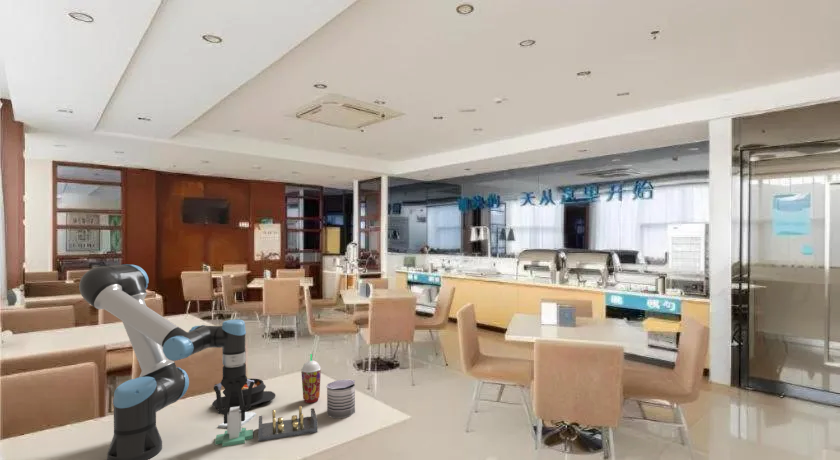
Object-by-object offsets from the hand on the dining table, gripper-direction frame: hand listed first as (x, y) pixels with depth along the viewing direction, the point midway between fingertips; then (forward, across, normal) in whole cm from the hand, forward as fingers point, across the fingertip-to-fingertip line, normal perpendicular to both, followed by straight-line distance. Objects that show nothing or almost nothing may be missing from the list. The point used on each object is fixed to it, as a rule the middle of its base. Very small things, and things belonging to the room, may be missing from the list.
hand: (234, 431), depth 152 cm
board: (+3, 0, 0) cm, 3 cm away
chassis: (+3, +18, 0) cm, 18 cm away
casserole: (+3, +2, +33) cm, 33 cm away
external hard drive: (+3, 0, +15) cm, 15 cm away
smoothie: (+3, +29, +26) cm, 39 cm away
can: (+3, +39, +9) cm, 40 cm away
